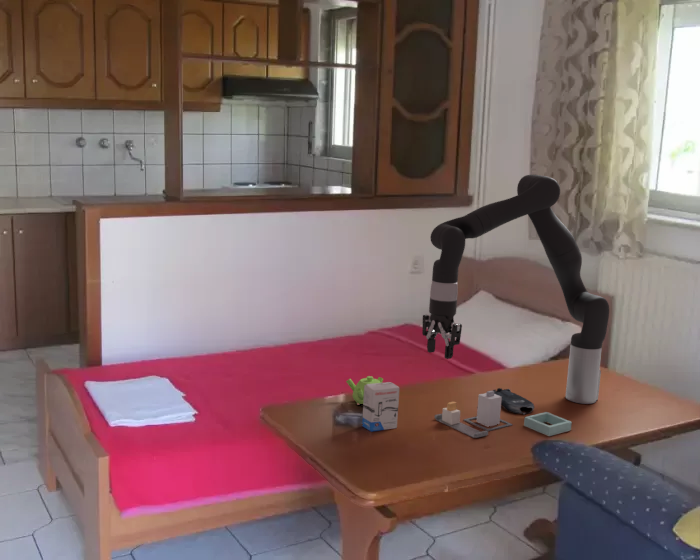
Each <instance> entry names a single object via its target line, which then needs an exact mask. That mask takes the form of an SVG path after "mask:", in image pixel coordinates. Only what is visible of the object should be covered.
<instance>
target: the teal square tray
mask: <svg viewBox="0 0 700 560" xmlns="http://www.w3.org/2000/svg"><path fill="white" fill-rule="evenodd" d="M523 422H524V423H523V426H524V427H526V428H529V429H531V430H532V431H533V430H534V431H535V432H537V433H540V434H542V435H545V436H548V437H551V436H555V435H558V434H561V433H566V432H569V431H571V430H572V423H573V422H572V421H571V420H567V419H566V418H564V417H561V416H558V415H556V414H553V413H551V412H548V411H544V412H540V413H536V414H533V415H528V416H525V417H524V421H523ZM546 423H548V424H546ZM549 424H550V425H549Z"/></svg>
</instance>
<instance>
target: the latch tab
mask: <svg viewBox="0 0 700 560" xmlns="http://www.w3.org/2000/svg"><path fill="white" fill-rule="evenodd" d="M457 403H458V402H456V401H450V402H447V405H446V407H443V408H442V413H441V414H442V421H444V422H446V423H449V424H451V425H453V424H458V423H460V422H461V410H459V409H457V405H458V404H457Z"/></svg>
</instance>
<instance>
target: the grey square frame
mask: <svg viewBox="0 0 700 560" xmlns="http://www.w3.org/2000/svg"><path fill="white" fill-rule="evenodd" d="M472 420H473V421H472ZM474 420H477V415H476V416H473V417H468V418H463V421H464V422H466V423H469V424H471V425H473V426H475V427H477V428H479V429H481V430H483V431H488V432H491V431H495V429H496V430H499V429H503V428H507V427H508V428H509V427H512V426H513V423H510V422H508V421H506V420H503V419H501V418H500V422H501V423H503V425H502V424H501V425H497V426H495V427H490V428H487V427H486V426H484V425H483V426H482V425H481V424H479V423H477V422H474ZM505 423H506V424H505Z"/></svg>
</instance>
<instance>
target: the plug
mask: <svg viewBox="0 0 700 560" xmlns="http://www.w3.org/2000/svg"><path fill="white" fill-rule="evenodd" d="M477 397H478V398H477V399H478V400H477V411H476V416H477V419H476V423H477V424H479V425H481V426H482V425H483V426H484V427H486V428H487V427H488V428H489V426H490V427H493V426H498V425H500V422H501V421H500V419H501V411H502V410H501V409H502V406H501V400H502V397H501V396H499V395H496V394H494V391H493V390H488V391H486V392H485V393H479V394H478V395H477ZM497 424H498V425H497Z"/></svg>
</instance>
